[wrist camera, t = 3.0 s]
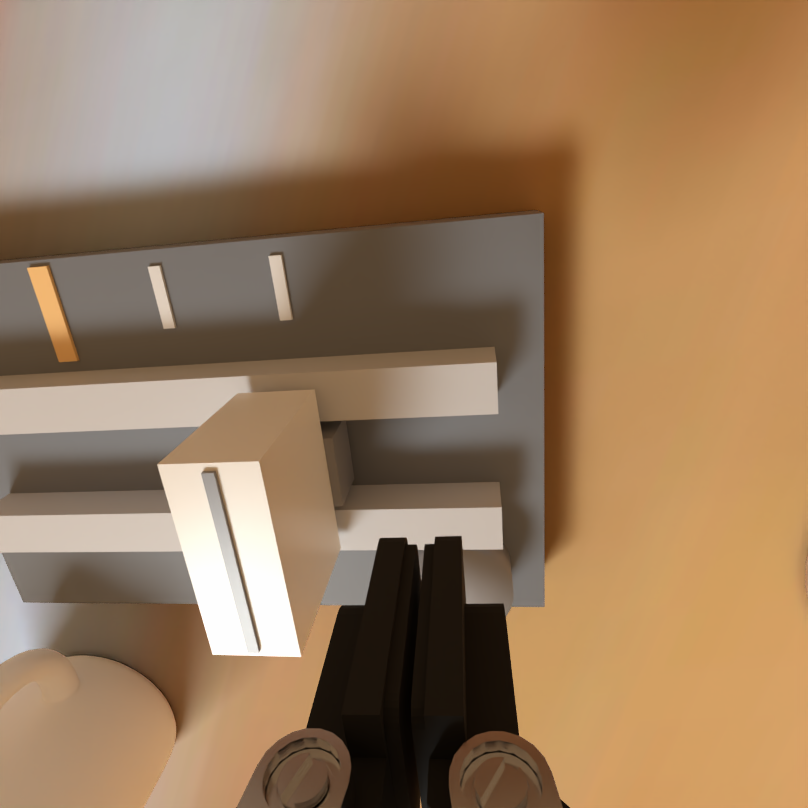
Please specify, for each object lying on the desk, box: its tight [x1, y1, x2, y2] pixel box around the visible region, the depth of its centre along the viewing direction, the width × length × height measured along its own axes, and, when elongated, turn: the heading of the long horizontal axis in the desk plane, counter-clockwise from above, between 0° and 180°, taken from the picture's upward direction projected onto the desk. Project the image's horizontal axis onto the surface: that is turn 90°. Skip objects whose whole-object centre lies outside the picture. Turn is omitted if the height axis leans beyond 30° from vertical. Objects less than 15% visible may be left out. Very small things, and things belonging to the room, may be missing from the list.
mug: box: [0, 648, 176, 808], centre depth 23 cm, size 12×8×10 cm
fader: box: [157, 389, 354, 657], centre depth 16 cm, size 3×6×6 cm, turn 5°
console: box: [0, 210, 544, 616], centre depth 20 cm, size 22×14×4 cm, turn 96°
